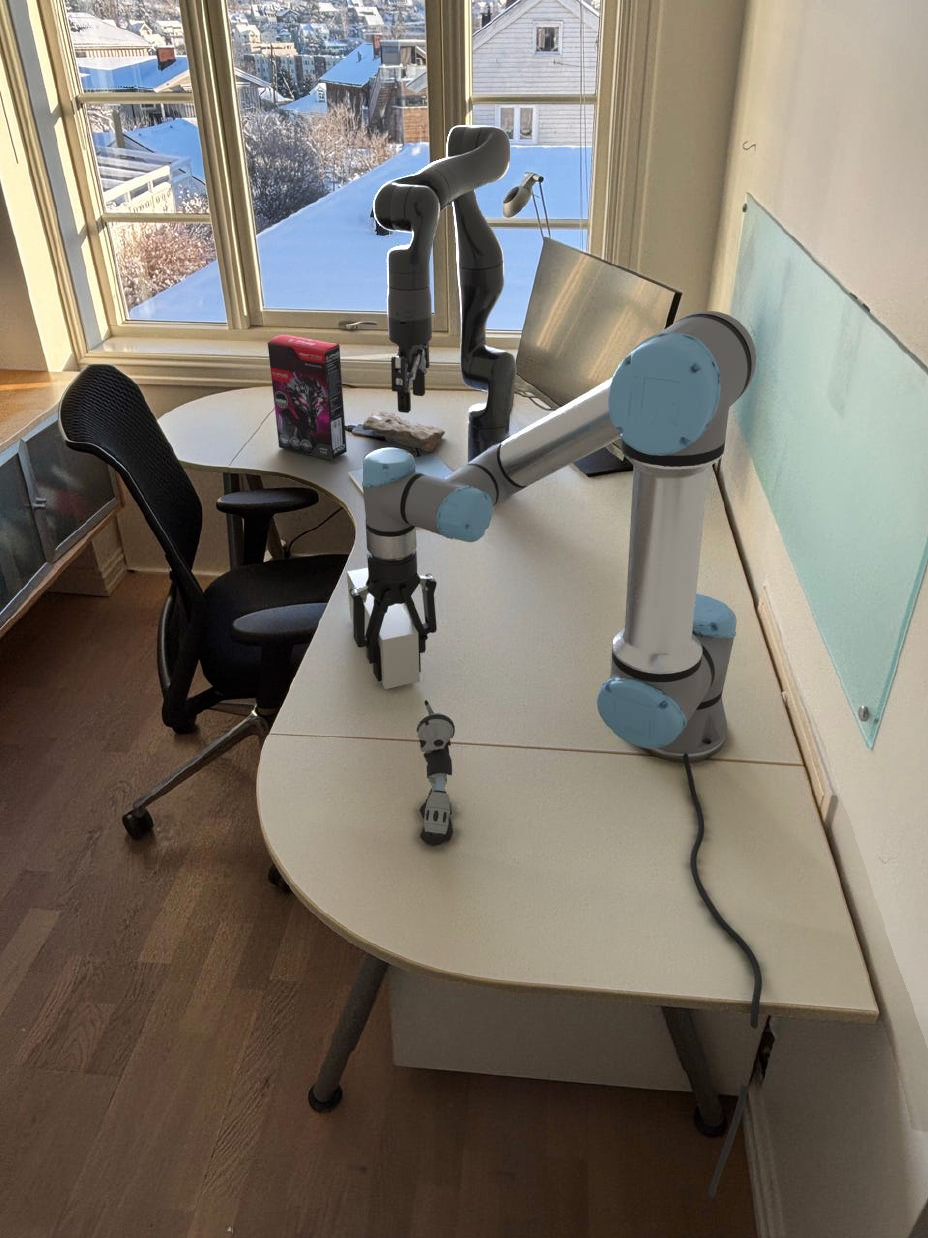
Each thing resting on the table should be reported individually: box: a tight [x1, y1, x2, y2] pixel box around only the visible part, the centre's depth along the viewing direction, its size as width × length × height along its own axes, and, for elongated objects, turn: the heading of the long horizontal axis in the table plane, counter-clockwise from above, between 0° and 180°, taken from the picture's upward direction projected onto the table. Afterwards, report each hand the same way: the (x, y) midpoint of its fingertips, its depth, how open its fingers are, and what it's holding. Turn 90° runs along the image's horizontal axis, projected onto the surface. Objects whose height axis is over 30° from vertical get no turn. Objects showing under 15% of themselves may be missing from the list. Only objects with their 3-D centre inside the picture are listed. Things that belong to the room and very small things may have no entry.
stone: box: [362, 411, 446, 453], centre depth 234 cm, size 21×15×6 cm
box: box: [346, 567, 420, 690], centre depth 156 cm, size 22×6×10 cm, turn 20°
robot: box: [415, 699, 456, 846], centre depth 121 cm, size 20×5×20 cm, turn 3°
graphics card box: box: [267, 333, 348, 461], centre depth 223 cm, size 17×7×27 cm, turn 62°
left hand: (411, 403), depth 167 cm, fingers open, 8 cm apart
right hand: (397, 672), depth 152 cm, fingers closed on box, 6 cm apart
